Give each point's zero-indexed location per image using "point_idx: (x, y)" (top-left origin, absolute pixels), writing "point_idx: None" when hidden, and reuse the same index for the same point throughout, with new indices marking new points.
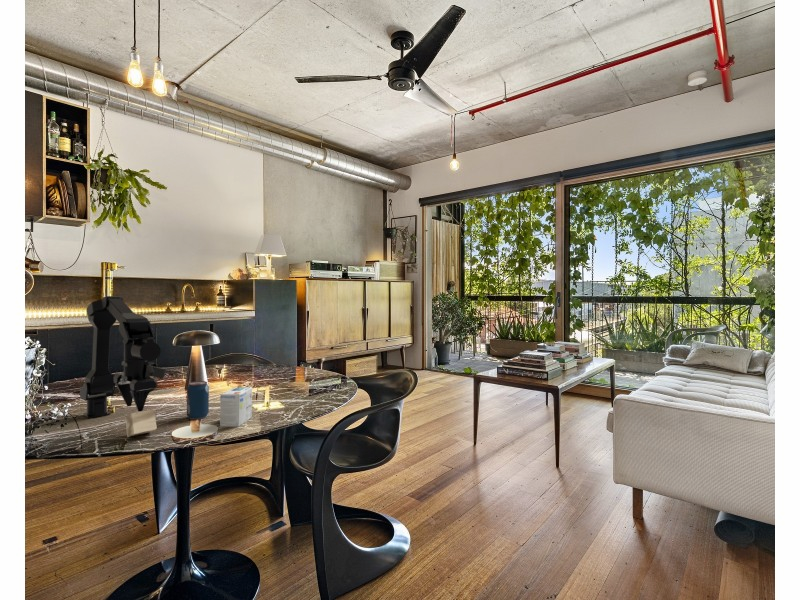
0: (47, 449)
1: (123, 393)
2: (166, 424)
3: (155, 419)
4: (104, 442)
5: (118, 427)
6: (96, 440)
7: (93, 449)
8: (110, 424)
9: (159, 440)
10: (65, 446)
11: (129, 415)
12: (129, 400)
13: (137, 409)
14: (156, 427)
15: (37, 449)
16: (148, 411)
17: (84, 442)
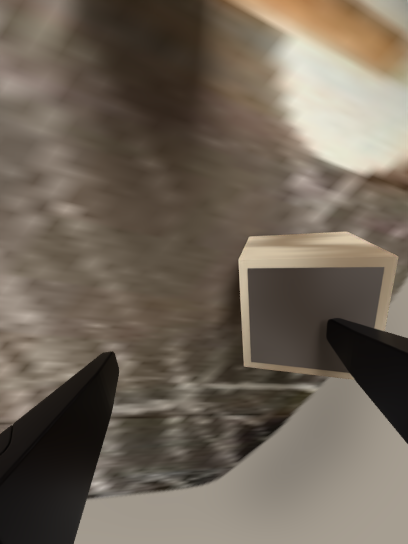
0: (205, 470)
1: (65, 537)
2: (177, 136)
3: (364, 240)
4: (252, 370)
5: (88, 319)
6: (213, 385)
7: (294, 394)
8: (14, 338)
9: (375, 232)
10: (211, 443)
11: (327, 372)
12: (100, 398)
13: (338, 352)
14: (348, 233)
15: (188, 485)
16: (386, 290)
17: (208, 410)
